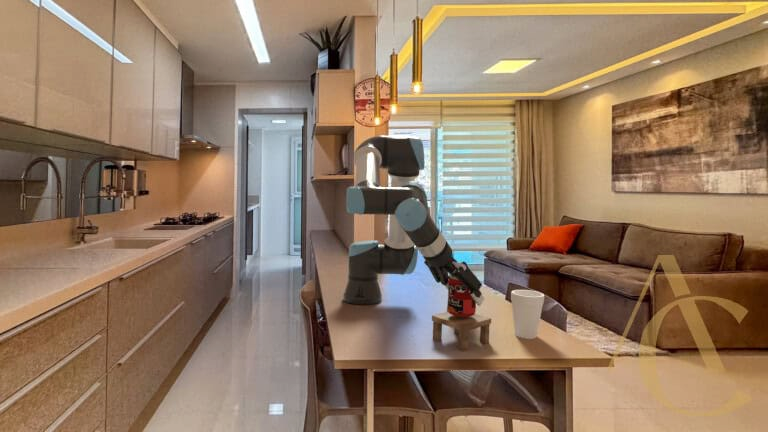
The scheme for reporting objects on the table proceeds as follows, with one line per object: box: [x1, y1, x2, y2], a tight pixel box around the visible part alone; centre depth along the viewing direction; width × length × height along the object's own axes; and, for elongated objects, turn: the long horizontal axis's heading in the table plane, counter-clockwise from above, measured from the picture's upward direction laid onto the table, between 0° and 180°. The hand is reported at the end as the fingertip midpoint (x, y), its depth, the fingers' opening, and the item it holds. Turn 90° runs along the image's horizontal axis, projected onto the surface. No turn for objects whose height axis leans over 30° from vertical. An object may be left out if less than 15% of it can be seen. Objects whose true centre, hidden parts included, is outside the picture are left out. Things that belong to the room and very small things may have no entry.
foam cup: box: [510, 289, 545, 340], centre depth 126 cm, size 10×9×13 cm
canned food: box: [447, 274, 478, 317], centre depth 119 cm, size 8×8×11 cm
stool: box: [431, 311, 492, 352], centre depth 120 cm, size 12×12×7 cm
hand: (469, 298), depth 122 cm, fingers closed on canned food, 8 cm apart
